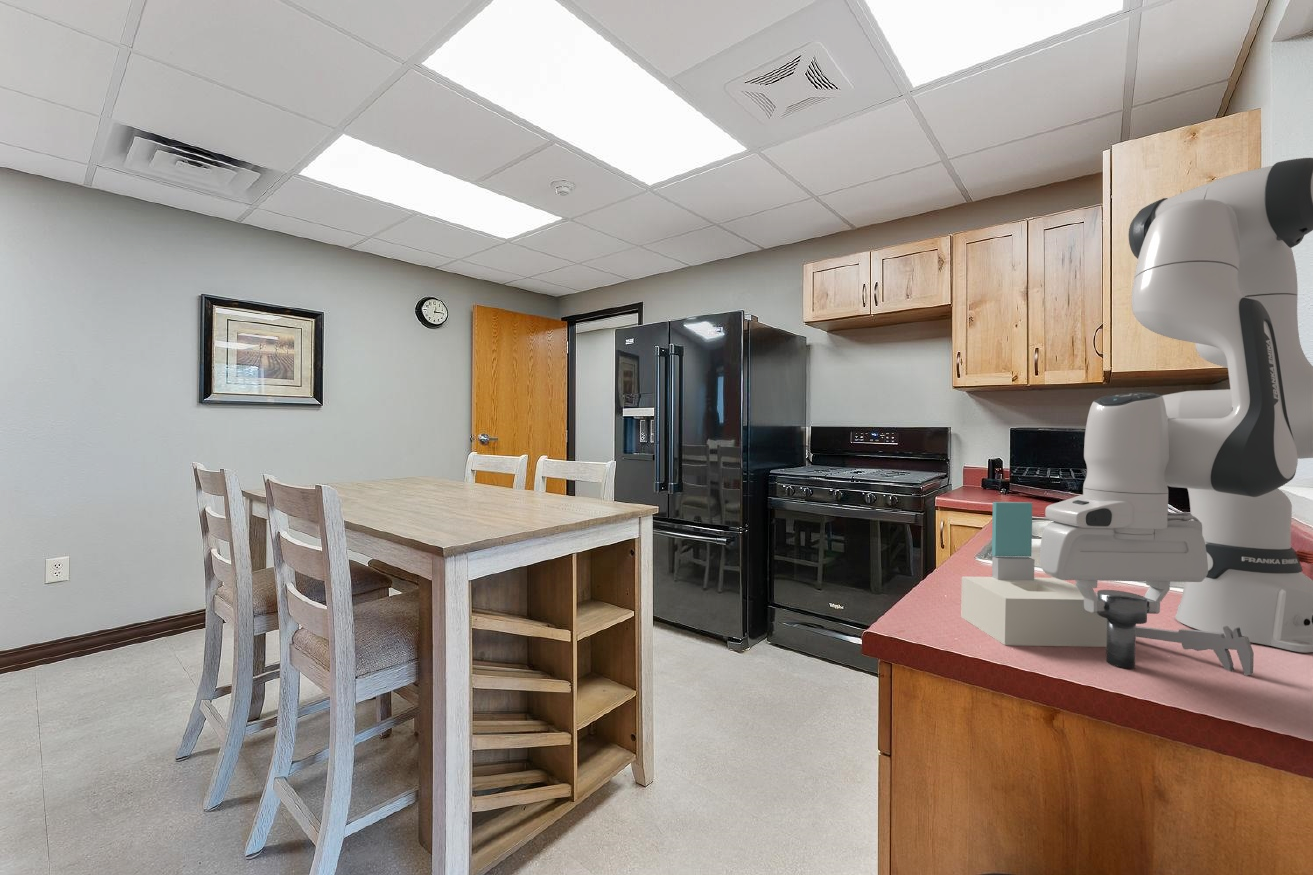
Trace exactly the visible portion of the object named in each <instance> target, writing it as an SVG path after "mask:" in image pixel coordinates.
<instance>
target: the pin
mask: <svg viewBox="0 0 1313 875" xmlns="http://www.w3.org/2000/svg"><path fill="white" fill-rule="evenodd" d="M1096 593H1097V598H1098V599H1101V600H1104V601H1105V606H1104V612H1103V613H1097V614H1098V615H1099V616H1101V617H1104V618H1107V642H1106V647H1105V650H1106V651H1105V652H1106V653H1105V656H1106V657H1105V662H1106V663H1107V664H1108V665H1111V666H1113V667H1116V668H1120V669H1126V670H1132V669H1135V667H1136V666H1135V664H1136V637H1135V636H1136V626H1137V625H1144V624H1146V623H1147V622H1148V614H1147V598H1145V597H1144V596H1143V595H1140V594H1136V593H1134V592H1129V591H1124V590H1116V589H1099V590H1097V592H1096Z"/></svg>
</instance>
